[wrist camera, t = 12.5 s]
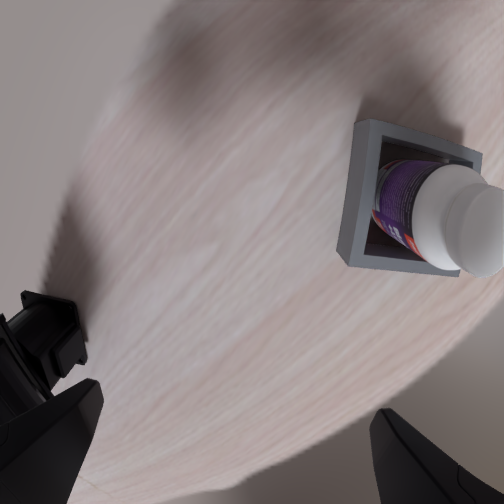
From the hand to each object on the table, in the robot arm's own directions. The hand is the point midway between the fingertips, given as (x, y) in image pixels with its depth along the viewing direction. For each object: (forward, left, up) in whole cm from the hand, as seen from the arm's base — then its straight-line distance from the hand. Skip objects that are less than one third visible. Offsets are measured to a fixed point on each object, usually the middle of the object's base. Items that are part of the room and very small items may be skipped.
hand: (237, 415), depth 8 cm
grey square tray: (+10, +6, -13) cm, 17 cm away
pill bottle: (+10, +6, -13) cm, 18 cm away
